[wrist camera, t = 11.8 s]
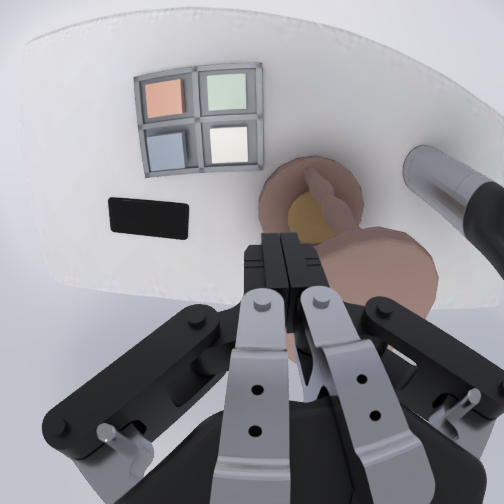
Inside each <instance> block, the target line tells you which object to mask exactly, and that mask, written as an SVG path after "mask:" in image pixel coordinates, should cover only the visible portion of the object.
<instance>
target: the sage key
mask: <svg viewBox="0 0 504 504" xmlns="http://www.w3.org/2000/svg"><path fill="white" fill-rule="evenodd" d="M207 89H208V109H209V111H212V110H227V109H246V78H245V74H225V75H212V76H207Z"/></svg>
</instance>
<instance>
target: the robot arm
mask: <svg viewBox="0 0 504 504" xmlns="http://www.w3.org/2000/svg"><path fill="white" fill-rule="evenodd" d="M403 175H404V180H405V183H406V185H407V186H408V187H409V188H410V189H411V190H412V191H413V192H414V193H416V194H417V195H418V196H419V197H421V198H422V199H423V200H424V201H425V202H426V203H428V204H429V205H430V206H431V207H432V208H434V209H435V210H436V211H437V212H438V213H439V214H441V215H442V216H443V217H444V218H445V219H446V220H447V221H448V222H449V223H451V224H452V225H453V226H454V227H455V228H456V229H457V230H458V231H459V232H460V233H461V234H462V235H463V236H464V237H465V238H466V239H467V240H468V241H470V242H471V243H472V244H473V245H474V246H475V247H476V248H477V249H478V250H479V251H480V252H481V253H482V254H483V255H484V256H485V257H486V258H487V259H488V261H489V262H490V263H491V264H492V265H493V267H494V268H495V269H496V270H497V272H498V273H499V274H500V276H501V277H502V278H503V280H504V188H503V187H502V186H501V185H499V184H497V183H496V182H494V181H493V180H491V179H490V178H488V177H486V176H485V175H483V174H481V173H479V172H478V171H476V170H474V169H473V168H471V167H469V166H467V165H465V164H464V163H462V162H460V161H458V160H456V159H454V158H452V157H450V156H448V155H446V154H444V153H443V152H440V151H438V150H436V149H434V148H432V147H430V146H426V145H424V146H419V147H416V148H415V149H413V150H412V151H411V152H410V153H409V155H408V156H407V158H406V161H405V163H404V169H403ZM285 327H286V333H294V338H295V342H294V354H295V358H296V362H297V366H298V371H299V375H300V379H301V383H302V387H303V393H304V402H297V401H290V400H289V379H288V352H287V349H286V344H285ZM388 345H390V346H391V347H393V348H394V349H396V350H397V351H399V352H400V353H402V354H404V355H405V356H407V357H408V358H410V359H411V360H413V361H414V362H415V363H416V364H417V366H415V365H411V364H410V363H408V362H407V361H405V360H404V359H402V358H401V357H399V356H398V355H396V354H395V353H393V352H392V351H391V350H389V349H388V348H387V347H388ZM226 371H229V374H228V382H227V390H226V397H225V405H224V410H223V411H220V412H218V413H216V414H214V415H212V416H210V417H209V418H207V419H206V420H204V421H203V422H202V423H200V424H199V425H198V426H197V427H196V428H195V429H194V430H193V431H192V432H191V433H190V434H189V435H188V436H187V437H186V438H185V439H184V440H183V442H181V443H180V444H179V445H178V446H177V447H176V448H175V449H174V450H173V451H172V452H171V453H170V454H169V455H168V456H167V457H166V458H165V459H163V460H162V461H161V462H160V463H159V464H158V465H157V466H156V467H155V468H154V469H153V470H151V471H150V472H149V473H148V474H147V475H146V476H145V477H144V478H143V475H144V472H145V470H146V468H147V467H148V466H149V465H150V464H151V462H152V460H153V458H154V449H153V446H152V444H151V443H152V442H153V441H154V440H155V439H156V438H157V437H159V436H160V435H161V434H162V433H163V432H164V431H165V430H167V429H168V428H169V427H170V426H171V425H172V424H173V423H174V422H176V421H177V420H178V419H179V418H180V417H181V416H182V415H183V414H184V413H185V412H187V410H189V409H190V408H191V407H192V406H193V405H194V404H195V403H196V402H197V401H198V400H199V399H200V398H201V397H203V396H204V394H206V393H207V392H208V391H209V390H210V389H211V388H212V387H213V386H214V385H215V384H216V383H217V382H218V381H219V380H220V379H221V378H222V377H223V376H224V375H225V373H226ZM414 412H415V413H414ZM503 413H504V370H502V369H501V368H499V367H498V366H497V365H495V364H494V363H492V362H491V361H489V360H488V359H486V358H485V357H483V356H481V355H480V354H478V353H477V352H475V351H474V350H472V349H470V348H469V347H468V346H466V345H465V344H463V343H462V342H460V341H458V340H457V339H455V338H454V337H452V336H451V335H449V334H447V333H446V332H444V331H443V330H441V329H440V328H438V327H436V326H435V325H433V324H432V323H430V322H428V321H427V320H425V319H423V318H422V317H420V316H419V315H417V314H415V313H414V312H412V311H410V310H409V309H407V308H406V307H404V306H402V305H401V304H399V303H397V302H396V301H394V300H392V299H390V298H387V297H383V296H376V297H372V298H370V299H369V300H368V301H367V302H366V304H365V306H362V305H356V304H351V303H347V302H344V301H342V299H341V297H340V295H339V294H338V293H337V292H336V291H334V290H333V289H331V288H330V286H329V283H328V280H327V277H326V275H325V272H324V269H323V267H322V264H321V261H320V259H319V256H318V253H317V251H316V249H315V248H314V247H312V246H311V245H310V244H309V243H305V244H300V241H299V238H298V235H297V232H284V233H261V245H249V246H248V248H247V249H246V250H245V252H244V296H243V298H242V300H241V301H240V302H239V303H238V304H237V305H236V306H235V307H233V308H231V309H228V310H224V311H221V312H217V311H216V310H215V309H213V308H212V307H210V306H208V305H202V304H195V305H191V306H188V307H186V308H184V309H182V310H181V311H180V312H178V313H177V314H176V315H175V316H173V317H172V318H171V319H169V320H168V321H167V322H165V323H164V324H163V325H161V326H160V327H159V328H158V329H156V330H155V331H154V332H153V333H151V334H150V335H148V336H147V337H146V338H144V339H143V340H142V341H140V342H139V343H138V344H137V345H135V346H134V347H133V348H132V349H130V350H129V351H127V352H126V353H125V354H124V355H122V356H121V357H119V358H118V359H117V360H116V361H114V362H113V363H112V364H110V365H109V366H108V367H106V368H105V369H104V370H102V371H101V372H100V373H98V374H97V375H96V376H95V377H93V378H92V379H91V380H89V381H88V382H87V383H85V384H84V385H83V386H81V387H80V388H79V389H77V390H76V391H75V392H73V393H72V394H71V395H70V396H68V397H67V398H66V399H64V400H63V401H62V402H60V403H59V404H58V405H56V406H55V407H54V408H52V409H51V410H50V411H49V412H48V413H47V414H46V416H45V417H44V419H43V423H42V433H43V436H44V439H45V440H46V442H47V443H48V444H49V445H50V446H51V447H53V448H55V449H56V450H58V451H59V452H61V453H63V454H64V455H66V456H67V457H68V458H70V459H71V460H72V461H73V462H74V463H75V465H76V466H77V467H78V469H79V470H80V472H81V473H82V475H83V476H84V477H85V479H86V480H87V481H88V483H89V484H90V485H91V486H92V488H93V489H94V490H95V491H96V492H97V494H98V495H99V496H100V498H101V499H102V500H103V501H104V502H105V503H106V504H482V503H483V498H484V495H485V491H486V484H487V477H486V472H485V469H484V466H483V465H482V463H481V462H480V460H479V459H480V457H481V455H482V453H483V451H484V448H485V446H486V444H487V441H488V439H489V436H490V434H491V431H492V429H493V426H494V423H495V420H496V419H497V417H499V416H500V415H501V414H503ZM417 414H418V415H419V416H418V415H417ZM420 416H421V417H422V418H424V419H425V420H427V421H428V422H429V423H428V422H426V421H425V420H424V419H422V418H421V417H420Z"/></svg>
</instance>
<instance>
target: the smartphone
mask: <svg viewBox="0 0 504 504" xmlns="http://www.w3.org/2000/svg"><path fill="white" fill-rule="evenodd" d="M108 207H109V217H110V227H111V231H113V232H117V233H126V234H135V235H144V236H153V237H162V238H171V239H180V240H186V239H187V238H188V221H189V206H188V205H187V204H184V203H175V202H164V201H153V200H141V199H129V198H115V197H110V198H109V199H108Z"/></svg>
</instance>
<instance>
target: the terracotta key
mask: <svg viewBox="0 0 504 504" xmlns="http://www.w3.org/2000/svg"><path fill="white" fill-rule="evenodd" d="M145 90H146V102H147V113H148V118H153V117H159V116H166V115H174V114H182V113H185V99H184V82H183V79H177V80H170V81H164V82H159V83H153V84H148V85H145Z"/></svg>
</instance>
